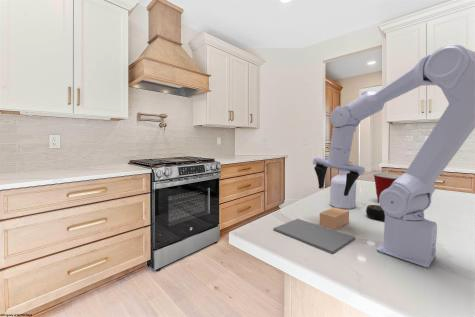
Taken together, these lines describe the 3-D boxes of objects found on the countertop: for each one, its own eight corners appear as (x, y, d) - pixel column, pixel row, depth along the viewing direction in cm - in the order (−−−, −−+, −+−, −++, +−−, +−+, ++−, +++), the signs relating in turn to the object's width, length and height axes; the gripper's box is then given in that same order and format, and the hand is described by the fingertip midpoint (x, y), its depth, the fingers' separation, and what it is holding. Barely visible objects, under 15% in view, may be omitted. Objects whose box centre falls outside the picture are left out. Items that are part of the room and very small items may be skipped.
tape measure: (386, 223, 71) (387, 211, 70) (363, 218, 76) (363, 207, 75) (391, 218, 76) (392, 207, 75) (369, 213, 80) (369, 203, 80)
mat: (355, 239, 59) (355, 236, 59) (332, 254, 52) (332, 251, 52) (297, 220, 73) (297, 218, 73) (273, 230, 66) (273, 228, 65)
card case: (348, 223, 71) (349, 210, 71) (335, 230, 66) (335, 217, 65) (333, 218, 75) (333, 207, 75) (319, 225, 69) (319, 213, 69)
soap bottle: (359, 209, 84) (362, 144, 82) (335, 209, 85) (337, 144, 82) (348, 202, 93) (350, 143, 91) (326, 202, 93) (328, 143, 91)
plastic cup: (404, 208, 85) (406, 177, 84) (371, 204, 91) (372, 175, 90) (401, 201, 95) (403, 173, 93) (371, 198, 100) (373, 171, 99)
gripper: (370, 151, 65) (362, 195, 68) (321, 143, 74) (315, 182, 77) (364, 153, 60) (355, 201, 63) (312, 145, 69) (306, 186, 72)
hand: (333, 191), depth 70 cm, fingers open, 7 cm apart
